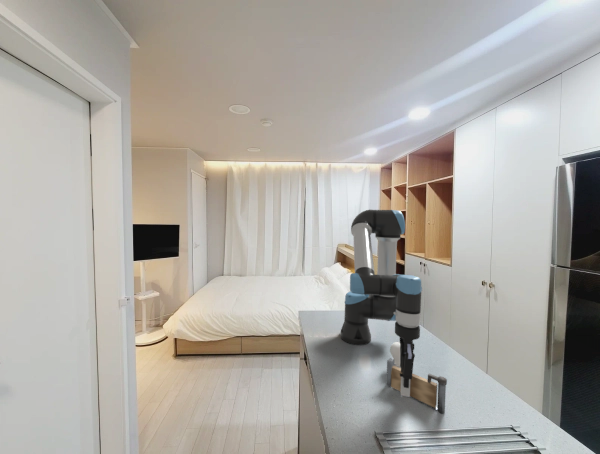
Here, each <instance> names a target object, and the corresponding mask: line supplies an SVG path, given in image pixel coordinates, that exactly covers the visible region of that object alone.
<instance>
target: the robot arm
mask: <svg viewBox="0 0 600 454" xmlns="http://www.w3.org/2000/svg"><path fill="white" fill-rule="evenodd" d="M350 226H351V227H350V234H351V235H352V236H353V258H354V263H353V265H354V272H353V273H351V274H350V277H349V290H350V291H348V292H347V293H346V294H345V298H344V316H343V317H344V318H343V319H344V321H343V323H342V325H341V326H342V327H341V328H340V333H339V334H340V339H341V340H343V341H344V342H346V343H348V344H352V345H356V346H359V345H360V346H361V345H363V346H364V345H367V344H369V343H370V342H371V341H372V334H371V330H370V327H369V320H376V321H377V320H380V321H387V322H390V321H393V322H395V323H394V333H395V335H396V336H397V337H399V342H400V367H401V373H400V376H401V389H400V391H399V392H400V393H399V394H400V396H402V397H408V398H411V397H410V379H412V373H413V370H414V361H415V356H416V355H415V352H414V350H415V343H414V341H415V340H418V339H420V336H421V318H422V317H421V316H422V313H421V311H422V310H421V309H422V308H421V306H422V291H423V286H422V279H421V278H420V277H419V276H415V275H412V274H399V273H397V252H398V251H397V249H398V248H397V246H398V241H399V240H401V235H404V234H405V231H406V223H405V217H404V214H403V213H402V211H400V210H396V209H367V210H364V211H362V212H360V213H358V214H357V215H356V216H355V218H354V219H353V221H352V223H351V225H350ZM372 234H374V238H375V239H376V240H377V241H378V243H377V268H376V269H377V271H376V272H377V273H375V266H374V265H375V264H374V257H373V248H372V239H371V235H372Z"/></svg>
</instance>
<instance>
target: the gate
mask: <svg viewBox="0 0 600 454" xmlns="http://www.w3.org/2000/svg"><path fill="white" fill-rule="evenodd" d="M400 373H401V368H398V367H396V366H393V367H392V376H391V387H390V388H392V389H395V390H396V391H399V392H400V389H401V376H400ZM432 380H434V381H437V383H436V382H434V381H432ZM438 383H439V384H441V385H446V386H447V383H448V379H447V378H446V377H444V376H440V375H439V376H437V375H434V374H432V373H427V379H426V378H424V377H422V376H420V375H417V374H415V373H413V372H412V379H410V396H411V397H410V398H412V397H413V398H412V399H414V398H415V399H414V400H416V399H418V400H420V401H422V402H424V403H426V404H428V405H430V406H432V407H434V408H435V407H437V403H438ZM418 400H417V401H418ZM420 401H419V402H420Z"/></svg>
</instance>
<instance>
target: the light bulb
mask: <svg viewBox="0 0 600 454" xmlns="http://www.w3.org/2000/svg"><path fill="white" fill-rule="evenodd" d="M389 351H390V354H391V355H390V356H392V357H391V358H392V359H394V360H395V363H394V366H396V367H398V368H401V367H400V341H394V342H392V343H391V345H390V347H389Z"/></svg>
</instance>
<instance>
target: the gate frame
mask: <svg viewBox="0 0 600 454" xmlns="http://www.w3.org/2000/svg"><path fill="white" fill-rule="evenodd" d="M394 364H395V360H394V359H393V357H390V358H388V359H387V361H386V383H385V384H386V386H388V387H389V388H392V387H391V376H392V367H393V366H394ZM446 390H447V384H446V385H441V384H439V383H438V382H437V404H436V407H435V408H434V407H432V406H430V405H428V404H426V403H424V402H422V401H420V400H418V399H415V398H413V397H411V396H410V397H409V398H412V399H414V400H415V401H418V402H419V403H421V404H423V405H426V406H427V407H429V408H431V409H433V410H435V411H436V412H438V413H439V414H441V415H444V414H445V412H446V410H445V409H446V392H447V391H446Z"/></svg>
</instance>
